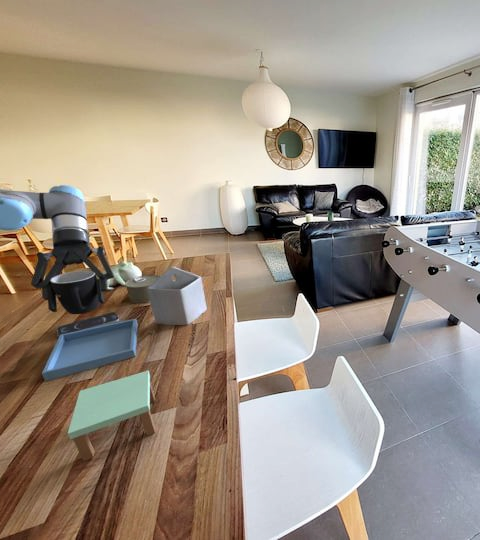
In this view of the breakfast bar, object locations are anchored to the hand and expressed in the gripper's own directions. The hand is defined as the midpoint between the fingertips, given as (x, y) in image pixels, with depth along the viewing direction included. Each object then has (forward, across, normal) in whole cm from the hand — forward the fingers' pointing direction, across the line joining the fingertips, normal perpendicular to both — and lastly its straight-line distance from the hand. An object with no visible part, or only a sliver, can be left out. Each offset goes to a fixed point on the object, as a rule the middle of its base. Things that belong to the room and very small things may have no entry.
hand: (77, 305), depth 77 cm
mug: (0, 0, -5) cm, 5 cm away
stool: (+35, -8, +12) cm, 37 cm away
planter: (+6, -23, -18) cm, 30 cm away
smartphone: (-3, +4, -26) cm, 27 cm away
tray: (+9, 0, -14) cm, 17 cm away
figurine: (-28, -2, -51) cm, 58 cm away
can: (-14, -12, -37) cm, 42 cm away
